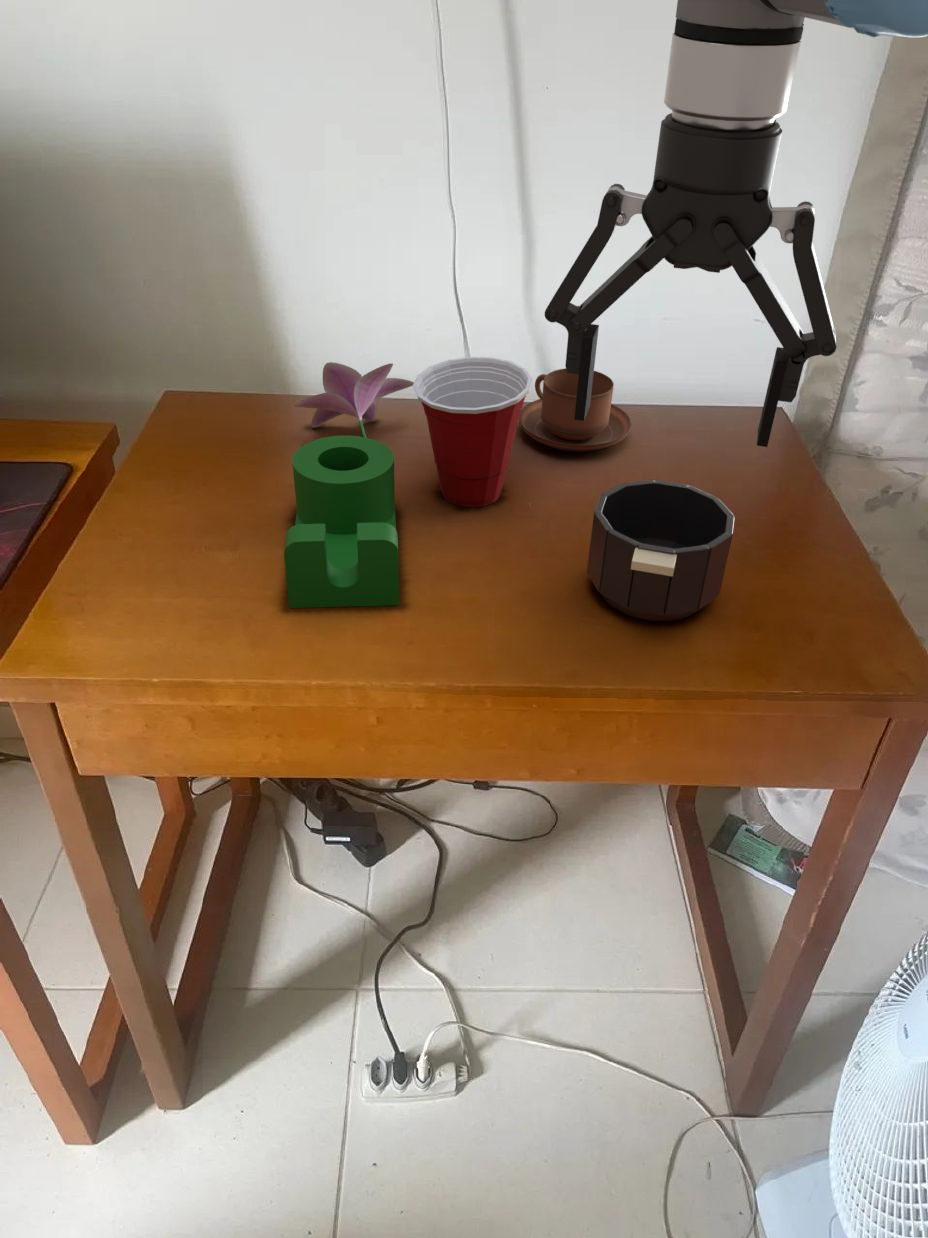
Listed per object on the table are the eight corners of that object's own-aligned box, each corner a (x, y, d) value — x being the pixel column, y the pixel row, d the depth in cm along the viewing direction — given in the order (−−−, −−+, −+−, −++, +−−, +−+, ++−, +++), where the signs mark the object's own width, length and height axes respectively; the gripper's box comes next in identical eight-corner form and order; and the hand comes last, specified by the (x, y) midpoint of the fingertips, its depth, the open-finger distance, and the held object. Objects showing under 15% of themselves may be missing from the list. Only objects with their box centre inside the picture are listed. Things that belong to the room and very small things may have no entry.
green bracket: (300, 496, 95) (295, 436, 91) (393, 494, 95) (392, 434, 91) (289, 608, 80) (282, 541, 76) (399, 604, 81) (398, 539, 77)
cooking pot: (600, 531, 88) (607, 472, 85) (724, 551, 86) (737, 492, 82) (573, 612, 78) (581, 549, 75) (713, 638, 76) (727, 574, 72)
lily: (432, 436, 108) (409, 349, 106) (412, 444, 96) (386, 345, 94) (330, 463, 110) (305, 378, 108) (299, 473, 98) (271, 378, 96)
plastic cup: (396, 478, 98) (394, 363, 91) (494, 458, 102) (499, 347, 94) (440, 532, 90) (442, 411, 83) (544, 508, 94) (554, 391, 87)
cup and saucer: (498, 443, 104) (501, 388, 101) (547, 402, 113) (551, 350, 109) (602, 472, 100) (609, 416, 96) (645, 427, 108) (653, 374, 105)
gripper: (927, 120, 62) (840, 427, 75) (540, 90, 67) (521, 383, 80) (940, 145, 56) (843, 473, 69) (515, 110, 61) (499, 423, 74)
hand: (670, 425), depth 74 cm, fingers open, 13 cm apart
